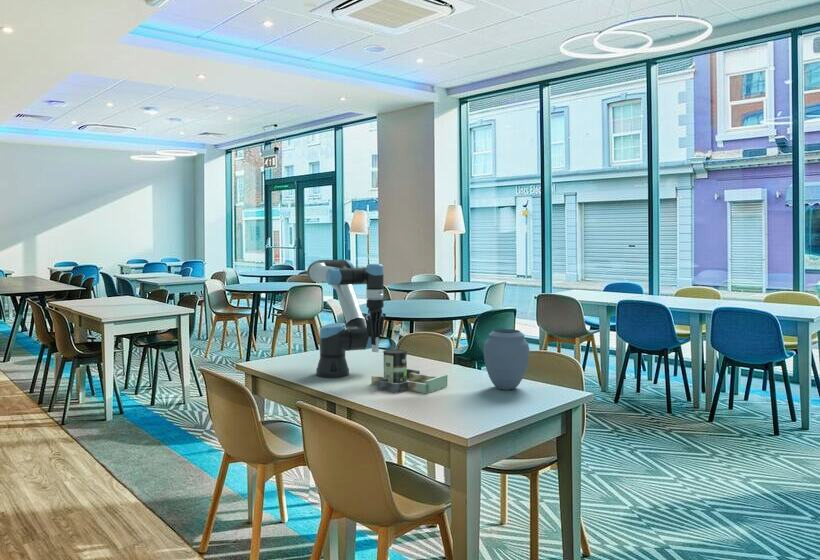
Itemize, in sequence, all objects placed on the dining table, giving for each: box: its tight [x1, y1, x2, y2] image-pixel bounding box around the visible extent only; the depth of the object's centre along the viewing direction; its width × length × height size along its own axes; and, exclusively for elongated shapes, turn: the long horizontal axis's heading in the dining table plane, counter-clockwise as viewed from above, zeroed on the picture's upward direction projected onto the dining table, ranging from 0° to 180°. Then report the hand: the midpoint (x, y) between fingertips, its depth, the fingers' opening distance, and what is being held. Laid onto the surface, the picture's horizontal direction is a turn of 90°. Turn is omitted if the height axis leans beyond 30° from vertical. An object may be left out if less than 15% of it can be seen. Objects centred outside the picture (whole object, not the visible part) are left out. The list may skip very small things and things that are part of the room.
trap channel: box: [371, 368, 437, 394], centre depth 284 cm, size 24×28×4 cm
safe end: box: [418, 374, 448, 394], centre depth 276 cm, size 5×15×5 cm, turn 146°
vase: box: [482, 328, 530, 391], centre depth 277 cm, size 20×20×24 cm
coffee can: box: [383, 348, 408, 384], centre depth 286 cm, size 10×10×14 cm
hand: (375, 351), depth 292 cm, fingers closed
